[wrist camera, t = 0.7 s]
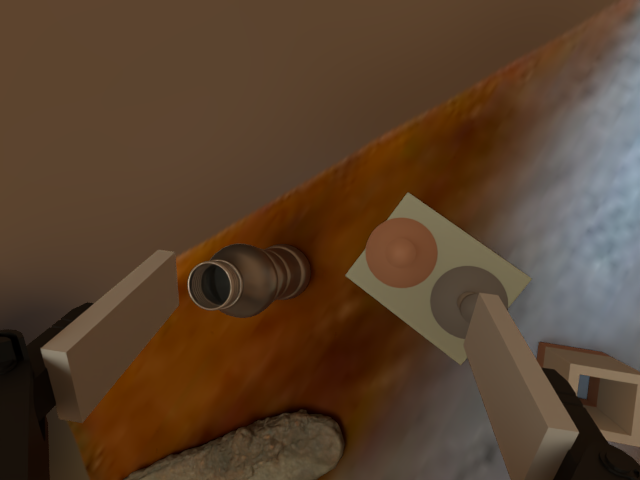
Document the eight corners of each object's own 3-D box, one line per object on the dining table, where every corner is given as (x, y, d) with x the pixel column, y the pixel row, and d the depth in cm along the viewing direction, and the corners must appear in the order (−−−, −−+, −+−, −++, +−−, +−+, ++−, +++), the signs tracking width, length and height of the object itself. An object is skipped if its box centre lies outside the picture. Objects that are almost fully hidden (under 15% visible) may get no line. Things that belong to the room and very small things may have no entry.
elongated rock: (109, 465, 54) (136, 532, 54) (77, 491, 49) (107, 565, 49) (325, 385, 46) (360, 462, 45) (314, 405, 41) (353, 493, 40)
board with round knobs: (532, 280, 41) (556, 286, 35) (463, 365, 43) (473, 386, 36) (404, 191, 45) (404, 181, 38) (343, 272, 46) (333, 276, 39)
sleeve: (601, 351, 40) (649, 376, 32) (594, 408, 40) (641, 447, 32) (539, 341, 41) (570, 363, 33) (532, 396, 41) (562, 431, 33)
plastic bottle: (285, 233, 48) (203, 222, 28) (326, 268, 46) (269, 282, 27) (254, 272, 48) (152, 288, 29) (293, 308, 47) (215, 349, 28)
